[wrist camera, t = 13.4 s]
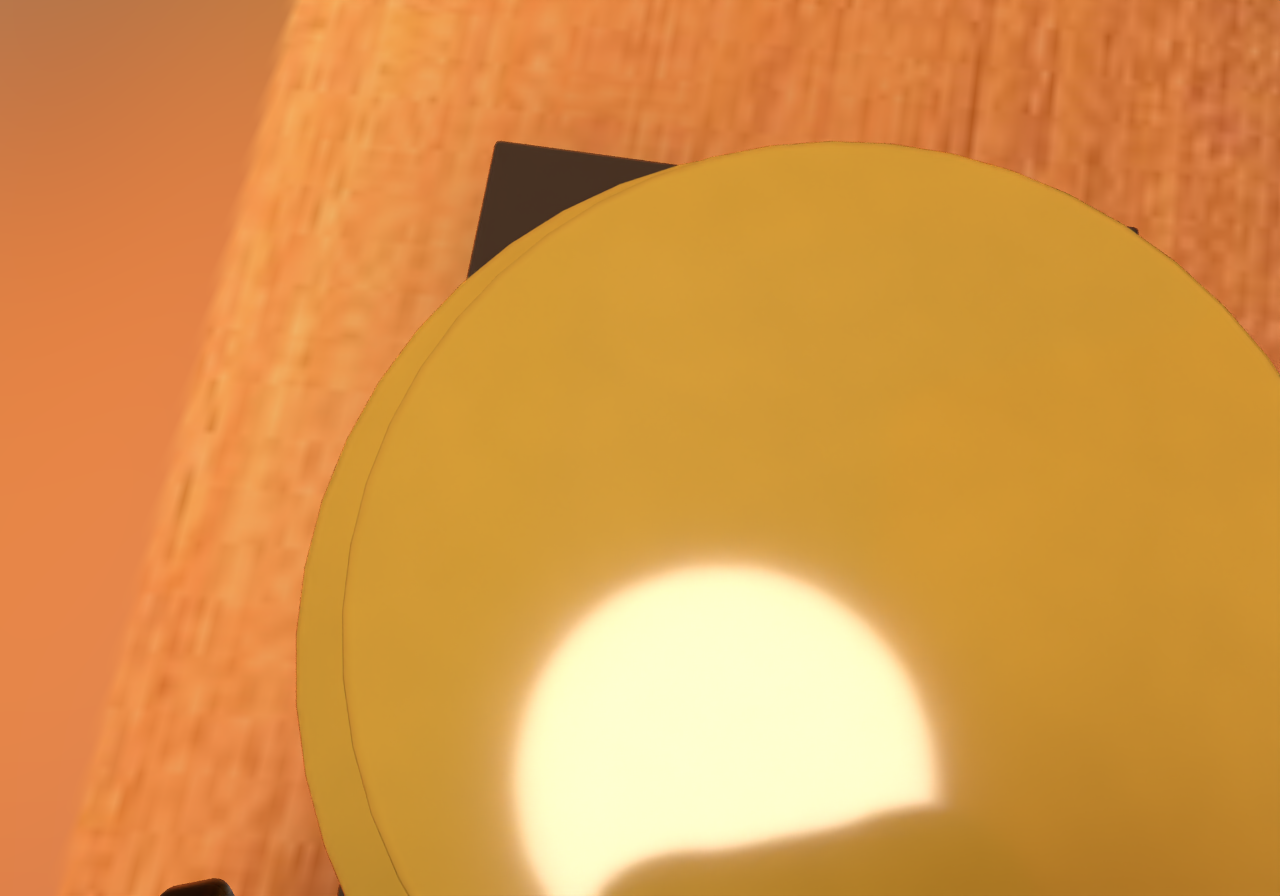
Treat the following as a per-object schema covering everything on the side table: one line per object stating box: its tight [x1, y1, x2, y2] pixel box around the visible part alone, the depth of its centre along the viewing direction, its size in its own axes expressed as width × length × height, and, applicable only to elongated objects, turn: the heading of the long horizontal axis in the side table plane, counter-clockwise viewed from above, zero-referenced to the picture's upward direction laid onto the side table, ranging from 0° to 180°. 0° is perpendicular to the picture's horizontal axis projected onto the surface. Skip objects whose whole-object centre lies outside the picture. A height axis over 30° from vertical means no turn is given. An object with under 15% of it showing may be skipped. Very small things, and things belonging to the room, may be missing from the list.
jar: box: [296, 141, 1280, 896], centre depth 10 cm, size 6×6×9 cm
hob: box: [337, 141, 1139, 896], centre depth 15 cm, size 14×9×1 cm, turn 171°
